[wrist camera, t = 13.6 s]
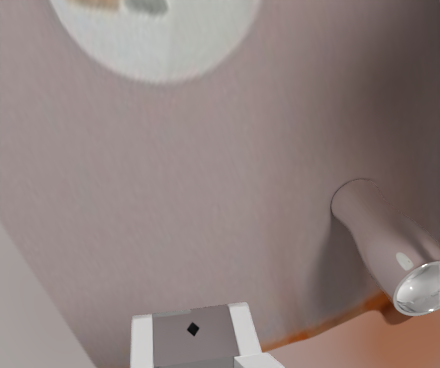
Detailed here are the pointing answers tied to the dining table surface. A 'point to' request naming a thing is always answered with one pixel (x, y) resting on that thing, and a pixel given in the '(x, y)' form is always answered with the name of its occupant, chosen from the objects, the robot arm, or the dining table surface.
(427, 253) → the beer glass
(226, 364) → the robot arm
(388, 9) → the dining table surface
